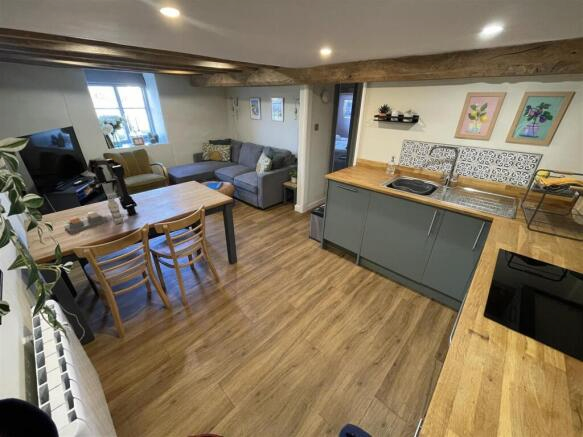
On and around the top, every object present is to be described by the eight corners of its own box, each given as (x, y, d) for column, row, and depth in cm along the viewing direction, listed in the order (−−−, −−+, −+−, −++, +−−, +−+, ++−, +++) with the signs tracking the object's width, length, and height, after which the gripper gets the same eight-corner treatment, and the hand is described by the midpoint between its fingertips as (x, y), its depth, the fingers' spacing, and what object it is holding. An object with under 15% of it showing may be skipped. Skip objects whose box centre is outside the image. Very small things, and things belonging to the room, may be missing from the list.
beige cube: (98, 216, 177) (96, 212, 175) (91, 218, 174) (89, 214, 172) (95, 214, 179) (94, 210, 177) (88, 216, 176) (87, 212, 174)
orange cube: (80, 221, 169) (78, 217, 167) (72, 224, 165) (70, 219, 164) (78, 220, 171) (76, 215, 169) (70, 222, 167) (68, 218, 166)
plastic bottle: (122, 220, 183) (114, 196, 173) (125, 222, 179) (117, 198, 170) (112, 222, 178) (103, 198, 169) (115, 225, 174) (106, 201, 165)
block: (107, 221, 180) (105, 215, 177) (72, 233, 163) (69, 227, 161) (100, 217, 185) (98, 211, 183) (65, 228, 169) (62, 222, 167)
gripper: (111, 170, 198) (117, 187, 205) (83, 174, 186) (90, 193, 193) (114, 173, 192) (120, 191, 199) (86, 177, 179) (93, 196, 186)
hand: (106, 192), depth 194 cm, fingers open, 9 cm apart
